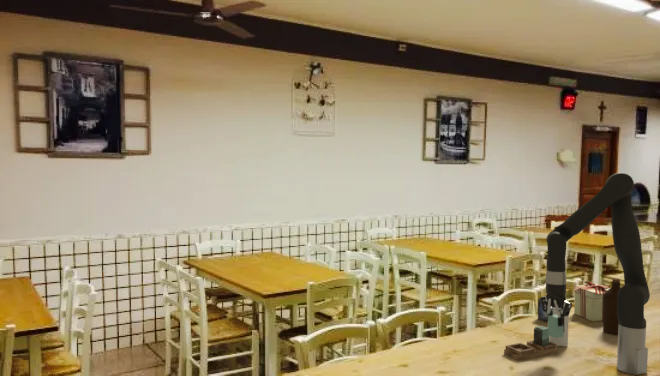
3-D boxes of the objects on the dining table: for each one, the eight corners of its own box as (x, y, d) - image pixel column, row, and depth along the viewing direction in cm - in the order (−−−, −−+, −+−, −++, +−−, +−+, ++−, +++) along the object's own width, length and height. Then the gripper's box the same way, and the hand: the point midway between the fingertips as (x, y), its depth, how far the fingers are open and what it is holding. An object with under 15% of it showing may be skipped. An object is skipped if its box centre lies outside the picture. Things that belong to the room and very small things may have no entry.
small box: (536, 319, 280) (537, 298, 280) (546, 317, 283) (546, 297, 283) (553, 324, 271) (553, 303, 270) (563, 323, 274) (563, 302, 273)
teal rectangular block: (564, 336, 222) (564, 316, 221) (556, 338, 219) (556, 317, 219) (556, 333, 225) (556, 314, 225) (548, 335, 223) (548, 315, 223)
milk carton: (567, 347, 238) (569, 303, 237) (550, 345, 240) (551, 302, 239) (564, 341, 245) (565, 299, 244) (547, 340, 247) (548, 298, 246)
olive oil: (621, 337, 252) (623, 282, 251) (597, 331, 261) (599, 278, 259) (631, 332, 259) (633, 279, 258) (608, 327, 267) (609, 275, 266)
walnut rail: (557, 352, 231) (558, 328, 231) (518, 360, 221) (519, 335, 221) (542, 346, 238) (543, 323, 238) (504, 354, 228) (504, 330, 228)
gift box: (567, 314, 290) (568, 281, 289) (595, 311, 295) (597, 279, 294) (591, 323, 274) (592, 288, 273) (621, 320, 279) (622, 286, 278)
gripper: (577, 284, 217) (577, 328, 217) (547, 278, 229) (547, 319, 230) (564, 286, 213) (564, 330, 214) (535, 279, 226) (534, 321, 226)
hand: (555, 324), depth 222 cm, fingers closed on teal rectangular block, 4 cm apart
